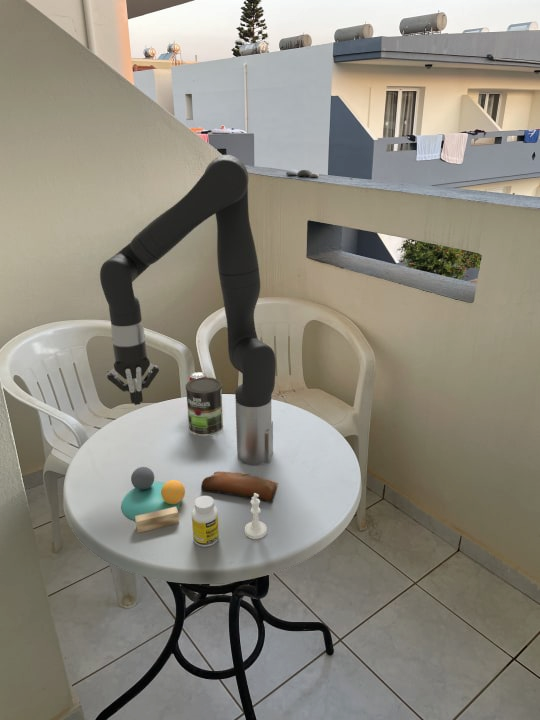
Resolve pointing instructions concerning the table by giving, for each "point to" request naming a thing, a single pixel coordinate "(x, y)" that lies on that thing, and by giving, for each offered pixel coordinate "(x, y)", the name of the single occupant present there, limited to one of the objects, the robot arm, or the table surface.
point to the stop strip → (157, 519)
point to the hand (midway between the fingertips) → (137, 403)
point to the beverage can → (197, 375)
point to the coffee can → (204, 406)
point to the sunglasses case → (240, 485)
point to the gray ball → (142, 478)
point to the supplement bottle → (205, 522)
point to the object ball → (173, 492)
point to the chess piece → (255, 521)
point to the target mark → (145, 501)
